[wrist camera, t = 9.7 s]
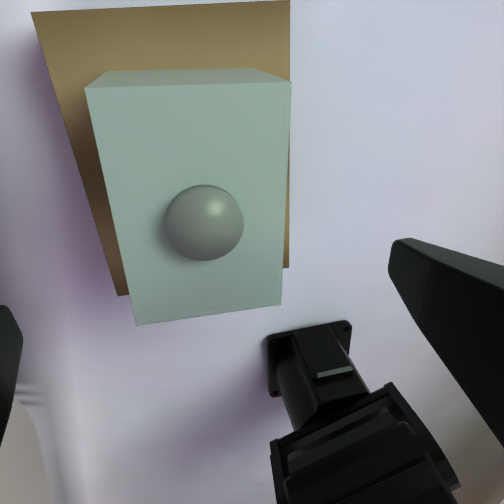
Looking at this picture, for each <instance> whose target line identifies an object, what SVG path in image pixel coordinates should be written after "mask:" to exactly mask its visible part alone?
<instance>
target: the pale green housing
mask: <svg viewBox="0 0 504 504" xmlns="http://www.w3.org/2000/svg"><path fill="white" fill-rule="evenodd" d="M291 85H292V82H290V81H288V80H285V79H282V78H279V77H277V76H274V75H271V74H268V73H266V72H263V71H260V70H258V69H255V68H219V69H172V70H125V71H106V72H105V73H104V74H102V75H101V76H100V77H98V78H97V79H96V80H94V81H93V82H92V83H90V84H89V85H88V86H86V87H85V88H84V89H85V94H86V98H87V103H88V107H89V112H90V116H91V121H92V125H93V130H94V135H95V139H96V144H97V148H98V153H99V157H100V162H101V166H102V171H103V176H104V180H105V185H106V189H107V194H108V198H109V203H110V207H111V212H112V217H113V221H114V226H115V230H116V235H117V239H118V244H119V248H120V253H121V258H122V262H123V267H124V271H125V276H126V280H127V285H128V289H129V294H130V299H131V303H132V308H133V312H134V317H135V321H136V326H138V325H145V324H152V323H159V322H166V321H172V320H179V319H186V318H193V317H200V316H207V315H213V314H220V313H227V312H234V311H241V310H248V309H255V308H261V307H268V306H275V305H281V292H282V271H283V250H284V230H285V209H286V189H287V168H288V147H289V127H290V106H291Z"/></svg>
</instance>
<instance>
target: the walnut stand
mask: <svg viewBox="0 0 504 504" xmlns="http://www.w3.org/2000/svg"><path fill="white" fill-rule="evenodd" d="M31 15H32V19H33V22H34V25H35V28H36V32H37V35H38V38H39V41H40V45H41V48H42V51H43V54H44V58H45V61H46V64H47V68H48V71H49V74H50V77H51V81H52V84H53V87H54V90H55V94H56V97H57V100H58V103H59V107H60V110H61V113H62V116H63V120H64V123H65V126H66V129H67V133H68V136H69V139H70V142H71V146H72V149H73V152H74V155H75V159H76V162H77V165H78V168H79V172H80V175H81V178H82V181H83V185H84V188H85V191H86V194H87V198H88V201H89V204H90V207H91V211H92V214H93V217H94V220H95V224H96V227H97V230H98V233H99V237H100V240H101V243H102V246H103V250H104V253H105V256H106V259H107V263H108V266H109V269H110V272H111V276H112V279H113V282H114V286H115V289H116V292H117V295H118V296H123V295H129V289H128V285H127V280H126V276H125V271H124V267H123V262H122V258H121V253H120V248H119V244H118V239H117V235H116V230H115V226H114V221H113V217H112V212H111V207H110V203H109V198H108V194H107V189H106V185H105V180H104V176H103V171H102V166H101V162H100V157H99V153H98V148H97V144H96V139H95V135H94V130H93V125H92V121H91V116H90V112H89V107H88V103H87V98H86V94H85V89H84V88H85V87H86V86H88V85H89V84H90V83H92V82H93V81H94V80H96V79H97V78H98V77H100V76H101V75H102V74H104V73H105V72H106V71H125V70H172V69H219V68H255V69H258V70H260V71H263V72H266V73H268V74H271V75H274V76H277V77H279V78H282V79H285V80H288V81H290V0H277V1H256V2H235V3H214V4H193V5H171V6H150V7H129V8H108V9H87V10H65V11H44V12H31ZM289 133H290V127H289ZM283 268H289V147H288V168H287V189H286V209H285V230H284V250H283Z"/></svg>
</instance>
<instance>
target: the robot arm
mask: <svg viewBox="0 0 504 504" xmlns="http://www.w3.org/2000/svg"><path fill="white" fill-rule="evenodd" d="M388 273H389V276H390V278H391V280H392V282H393V284H394V285H395V287H396V289H397V291H398V293H399V294H400V296H401V298H402V300H403V302H404V303H405V305H406V307H407V309H408V311H409V312H410V314H411V316H412V318H413V319H414V321H415V323H416V324H417V326H418V327H419V329H420V330H421V332H422V333H423V335H424V336H425V337H426V339H427V340H428V342H429V343H430V344H431V346H432V347H433V349H434V350H435V351H436V353H437V354H438V356H439V357H440V359H441V360H442V361H443V363H444V364H445V366H446V367H447V368H448V370H449V371H450V373H451V374H452V375H453V377H454V378H455V380H456V381H457V383H458V384H459V385H460V387H461V388H462V390H463V391H464V392H465V394H466V395H467V397H468V398H469V399H470V401H471V402H472V404H473V405H474V406H475V408H476V409H477V411H478V412H479V414H480V415H481V416H482V418H483V419H484V421H485V422H486V423H487V425H488V426H489V428H490V429H491V430H492V432H493V433H494V435H495V436H496V438H497V439H498V440H499V442H500V443H501V445H502V446H503V447H504V266H502V265H499V264H496V263H492V262H489V261H486V260H483V259H479V258H476V257H473V256H469V255H466V254H463V253H459V252H456V251H453V250H449V249H446V248H443V247H440V246H436V245H433V244H430V243H426V242H423V241H420V240H416V239H413V238H405V239H399V240H395V241H394V242H393V244H392V247H391V253H390V258H389V264H388ZM344 327H345V328H344ZM351 332H352V326H351V324H350V323H349V321H347V320H344V321H339V322H334V323H329V324H324V325H319V326H314V327H309V328H304V329H299V330H294V331H289V332H284V333H279V334H273V335H270V336H269V337H268V338H267V340H266V346H267V370H268V391H269V394H270V396H271V397H279V396H282V398H283V401H284V403H285V406H286V409H287V412H288V415H289V418H290V421H291V424H292V427H293V430H294V432H292V433H290V434H288V435H286V436H284V437H282V438H280V439H275V440H273V441H271V442H270V449H271V455H270V459H271V466H272V473H273V480H274V487H275V494H276V501H277V504H458V503H457V501H456V500H455V498H454V496H453V495H452V493H455V492H457V491H459V490H461V485H460V482H459V480H458V478H457V476H456V474H455V472H454V471H453V469H452V467H451V465H450V463H449V462H448V460H447V458H446V457H445V455H444V453H443V452H442V450H441V448H440V447H439V445H438V444H437V442H436V441H435V439H434V438H433V436H432V435H431V433H430V432H429V430H428V429H427V428H426V426H425V425H424V424H423V422H422V421H421V420H420V418H419V417H418V416H417V414H416V413H415V412H414V411H413V409H412V408H411V407H410V405H409V404H408V403H407V401H406V400H405V399H404V397H403V396H402V395H401V394H400V392H399V391H398V390H397V388H396V387H395V386H394V384H393V383H392V382H389V383H387V384H385V385H384V387H383V388H381V389H379V390H377V391H375V392H372V393H370V391H369V389H368V388H367V386H366V384H365V383H364V381H363V379H362V378H361V376H360V374H359V373H358V371H357V369H356V367H355V366H354V364H353V362H352V361H351V359H350V357H349V348H350V340H351ZM273 341H275V342H273ZM22 347H23V336H22V332H21V330H20V328H19V326H18V324H17V322H16V321H15V319H14V317H13V315H12V313H11V311H10V309H9V308H8V307H7V306H5V305H0V446H1V443H2V439H3V436H4V432H5V429H6V426H7V423H8V419H9V416H10V412H11V408H12V403H13V399H14V393H15V387H16V382H17V376H18V370H19V364H20V358H21V352H22Z"/></svg>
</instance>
